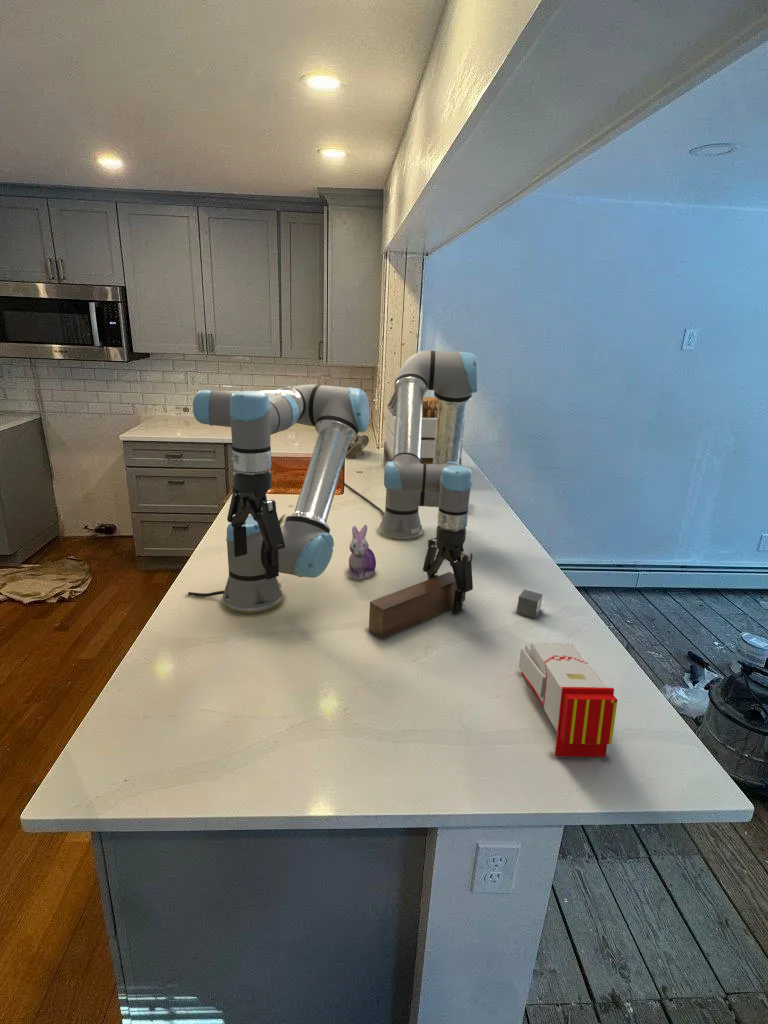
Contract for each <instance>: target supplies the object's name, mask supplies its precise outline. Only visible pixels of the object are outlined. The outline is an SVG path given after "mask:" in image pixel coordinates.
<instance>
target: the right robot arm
mask: <svg viewBox="0 0 768 1024" xmlns="http://www.w3.org/2000/svg"><path fill="white" fill-rule="evenodd" d="M478 388H479V371H478V359H477V357H476V355H475V354H474V353H473V352H463V351H461V350H460V351H446V350H431V349H427V350H425V349H424V350H421V351H418V352H416V353H414V354H413V355H410V357H408V358H407V359H406V360H404V362H403V364H402V365H401V366H400V367H399V370H398V371H397V373H396V376H395V379H394V392H396V394H397V408H396V421H395V435H394V448H393V461H391V462H386V463H385V466H384V471H383V472H384V473H383V486H384V488H385V489H386V490H385V504H384V505H385V507H384V508H385V509H384V511H383V509H381V508H380V507H378V506H377V505H376V504H374V503H373V502H372V501H371V500H369V499H368V498H366V497H365V496H363V495H362V494H361V493H360V492H358V491H357V490H355V489H353V487H351V486H349V485H348V484H347V483H346V482H344V481H343V480H341V478H339V480H338V482H340V483H341V484H342V485H344V486H345V487H347V488H348V489H349V490H351V491H352V492H353V493H355V494H356V495H358V496H359V497H361V498H362V499H363V500H364V501H366V502H368V503H369V504H370V505H371V506H373V507H374V508H375V509H376V510H378V511H379V512H380V513H381V514H382V519H381V522H379V527H378V533H379V534H380V535H381V536H382V537H385V538H387V539H389V540H395V541H410V540H415V539H418V538H420V537H421V536H422V535H423V525H422V524H421V518H420V515H419V507H427V508H430V507H431V508H438V511H437V526H436V534H435V535H436V536H435V537H434V538H431V539H428V540H427V551H426V553H425V558H424V562H423V566H422V572H426V574H427V575H426V576H427V580H429V579H432V578H434V577H437V576H439V575H438V573H439V570H440V568H441V566H442V564H443V563H444V561H447V562H449V566H450V567H451V568H452V573H453V574H454V577H455V581H456V585H457V590H455V596H454V606H453V608H452V613H453V614H457V613H460V612H462V611H463V603H464V602H465V601H466V594H467V593H468V592H471V591H473V590H474V582H473V567H472V561H473V558H474V556H473V553H468V552H466V551H465V548H464V545H465V542H466V536H467V527H468V517H469V505H470V497H471V487H472V484H473V481H472V475H473V474H472V470H471V469H470V468H468V467H466V466H463V465H462V464H461V465H460V464H459V457H460V448H461V440H462V439H463V438H462V431H463V423H464V424H465V421H464V420H465V413H466V406H467V405H466V404H467V403H468V402H469V401H470V400H472V396H473V395H472V394H475V393H477V392H478ZM427 391H433V397H436V399H437V400H438V411H437V422H436V434H435V445H434V457H433V464H422V463H420V451H421V429H422V407H423V397H425V395H426V393H427ZM462 441H463V440H462Z"/></svg>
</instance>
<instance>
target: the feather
mask: <svg viewBox="0 0 768 1024" xmlns="http://www.w3.org/2000/svg"><path fill="white" fill-rule="evenodd" d="M285 515H286V514H283V515H282V516H281V518H279V519H278V520H279V524H280V525H281V522H282V520H283V519H284V516H285Z"/></svg>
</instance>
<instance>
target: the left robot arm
mask: <svg viewBox="0 0 768 1024" xmlns="http://www.w3.org/2000/svg"><path fill="white" fill-rule="evenodd" d="M193 397H194V398H193V400H192V414H193V417H194V419H195V420H196V421H197V422H199V423H200V424H203V425H207V426H208V425H209V426H210V427H211V426H217V427H225V428H226V427H227V428H230V429H231V430H230V431H231V434H230V435H231V449H232V450H231V451H232V452H231V453H232V456H231V457H230V459H231V460H230V461H232V469H234V471H233V474H232V475H233V476H232V477H233V478H232V479H233V485H232V486H231V487H232V493H231V499H230V504H229V508H228V513H227V517H226V520H227V522H228V525H227V528H226V538H225V541H226V548H227V550H226V551H227V566H228V578H227V581H226V584H225V587H224V589H223V590H218V591H213V592H208V593H207V592H205V593H204V592H203V593H201V592H194V591H188V592H187V595H188V596H193V597H194V596H195V597H202V598H204V597H213V596H220V595H222V603H223V607H224V608H225V609H226V610H227V611H230V612H232V613H235V614H239V615H258V614H259V615H260V614H263V613H267V612H270V611H272V610H274V609H276V608H278V606H280V605H281V603H282V601H283V591H282V585H281V582H279V580H278V577H279V576H280V574H284V575H285V574H286V575H290V576H291V575H292V576H296V577H298V578H310V579H314V578H317V577H319V576H321V575H322V574H323V573H324V572H325V571H326V569H327V568H328V565H329V564H330V561H331V560H332V556H333V554H334V553H333V552H334V549H333V548H334V545H335V542H334V541H335V540H334V537H333V536H332V534H331V533H330V532H331V528H330V526H329V524H328V523H327V522H328V518H329V515H330V511H331V508H332V504H333V501H334V497H335V495H336V490H337V487H338V483H339V479H340V477H341V474H342V470H343V467H344V463H345V459H346V457H345V456H346V453H347V449H348V446H349V443H354V441H355V440H356V438H357V436H358V434H359V433H364V432H367V430H368V428H369V423H370V422H369V421H370V404H369V398H368V395H367V393H366V392H365V390H363V389H362V388H358V387H357V388H356V387H352V386H348V387H347V386H346V387H345V386H335V385H325V384H313V383H311V384H301V385H291V386H281V387H279V388H278V389H276V390H215V389H202V390H199V391H197V393H196V394H195V395H194V396H193ZM295 424H298V425H304V426H308V427H314V429H315V431H316V433H317V434H318V435H317V438H316V441H315V445H314V448H313V451H312V455H311V457H310V460H309V464H308V467H307V469H306V470H307V471H306V473H305V477H304V480H303V483H302V485H301V489H300V493H299V496H298V499H297V502H296V505H295V507H294V512H293V513H291V514H289V515H287V516H286V517H285V520H284V524H283V525H281V523H280V524H279V520H280V519H279V516H278V511H277V503H276V500H275V499H270V500H268V498H267V492H268V491H269V490H271V489H272V487H273V486H272V485H273V484H272V479H273V478H272V477H273V476H272V471H271V469H272V448H271V447H272V446H271V436H272V435H274V434H277V433H280V432H284V431H287V430H288V429H290V428H292V427H293V426H294V425H295Z"/></svg>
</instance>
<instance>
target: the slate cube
mask: <svg viewBox="0 0 768 1024" xmlns="http://www.w3.org/2000/svg"><path fill="white" fill-rule="evenodd" d="M542 600H543V593H539V592H535V591H532V590H528V589H525V588H524V589H523V590H522V592H521V593H520V594H519V596H518V599H517V608H516V614H517V615H521V616H525V617H528V618H532V619H536V618H537V617H538V615H539V613H540V612H541V607H542Z"/></svg>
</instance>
